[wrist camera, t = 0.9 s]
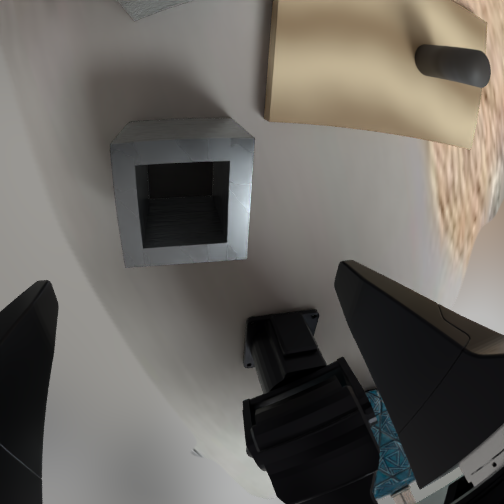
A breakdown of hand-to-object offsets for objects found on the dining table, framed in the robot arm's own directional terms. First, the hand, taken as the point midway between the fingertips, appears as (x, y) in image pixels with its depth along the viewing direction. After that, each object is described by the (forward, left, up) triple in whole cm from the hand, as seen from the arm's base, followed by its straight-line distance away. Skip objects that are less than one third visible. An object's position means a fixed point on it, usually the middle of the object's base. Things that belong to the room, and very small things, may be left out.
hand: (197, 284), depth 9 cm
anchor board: (+9, -14, -12) cm, 20 cm away
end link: (0, 0, -12) cm, 12 cm away
